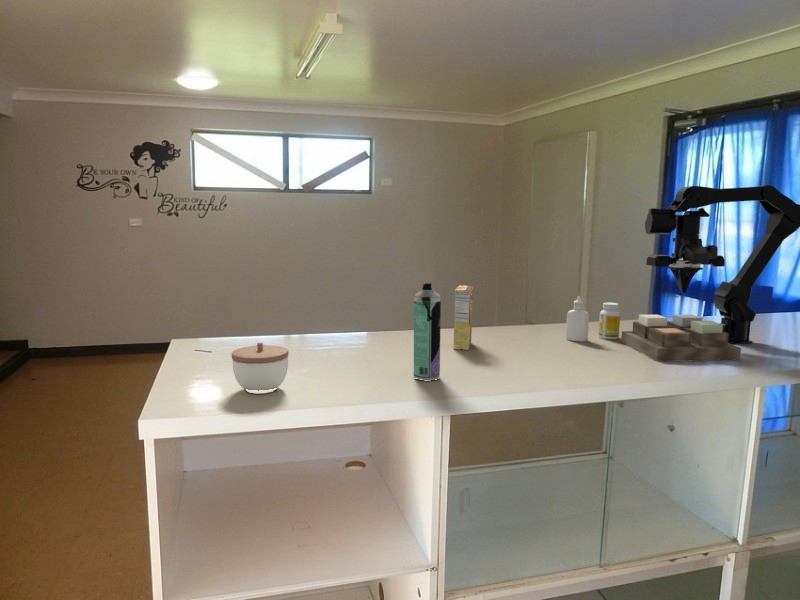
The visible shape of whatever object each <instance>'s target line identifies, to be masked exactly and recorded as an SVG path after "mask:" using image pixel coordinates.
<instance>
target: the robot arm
mask: <svg viewBox="0 0 800 600" xmlns="http://www.w3.org/2000/svg"><path fill="white" fill-rule="evenodd" d="M751 201H753V202H755V201H757V202H758V203H759V204H760V206H761V207H762V209H763V211H764V212H766V213H767V214H768V219H767V220H766V225H765V231H764V234H763V235H762V237H761V238H760V240H758V242H757V244H756V245H755V247H754V249H753V250H752V252H751V253H750V254H749V256H748V257H747V259H746V261H745V262H744V263H743V265H742V266H741V268H740V269H739V271H738V273H737V274H736V276H734V278H733V279H732V280H730V281H729V282H727V281H723V280H722V282H720V285H719V287H718V289H716V290H715V292H713V295H714V296H713V306H714V307H715V308H716V309H717V310H718V312H719V315H720V316H721V318H720V320H721V321H720V324H723V329H722V331H723V332H726V333H728V334H729V336H728V343H729V344H754V343H753V342H754V341H752V340H750V332H751V323H753V321H754V320H755V318H756V313H755V311H753V310H752V309H751V308H750V306H749V304H748V303H749V301H750V300H751V295H752V289H753V286H755V285H754V284H755V283H756V282H757V280H758V278H759V277H760V276H761V274H762V272H764V270H765V268H766V267H767V265H768V264H769V263H770V261H771V260H772V258H773V256H774V255H775V254H776V253H777V251H778V249H779V248H780V246H781V245H782V243H783V242H784V241H785V240H786V239H787V238H788V237H790V236H791V235H792V234H794V233H795V232H797V231H798V230H799V228H800V204H799V203H796V202H795V201H794V200H792V199H791V198H790V197H788V196H787V195H785V194H783V193H782V192H780V191H779V189H777V188H776V187H775V186H773V185H770V184H764V185H758V186H748V187H747V186H746V187H730V188H715V187H709V186H700V185H692V186H691V185H690V186H684V187H681V188H679V189H678V190H677V192H676V193H675V196H674V199H673V201H672V202H671V203H670V204H669V206H668V207H667V208H664V209H663V208H657V207H655V208H648V214H647V215H646V218H645V221H644V230H645V233H646V234H647V235H671V233H673V231H675V236H674V237H672V242H673V243H674V248H673V249H674V250H673V251H674V252H671V254H670V255H671V256H670V255H666V254H649V255H648V256H647V258H646V263H645V264H646V266H651V267H655V268H656V267H658V268H659V267H664V268H665V267H666V268H667V269H670V271H671V273H672V275H673V276H674V279H675V282H676V284H677V287H678V289H679V292H680V293H681V294H686V293H687V290H688V288H689V286H690V283H691V282H692V280H693V278H694V276H695V275H696V274H698V272H699V271H702V270H704V267H701V265H704V266H706V265H711V266H712V267H721V268H722V267H725V266H726V259H725V256H724V255H718V252H719V251H718V247H719V246H717V245H715V244H708V245H707V246H704V245H703V239H702V238H700V233H701V232H700V230H701V219H702V218H709V217H710V216H711V215H710V213H709V212H708V211H706V210H705V208H704V207H706V206H707V207H708V206H711V205H714V204H719V203H734V202H736V203H737V202H751ZM690 209H696V210H690ZM677 213H683V214H677Z"/></svg>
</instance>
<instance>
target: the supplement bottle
mask: <svg viewBox="0 0 800 600" xmlns="http://www.w3.org/2000/svg"><path fill="white" fill-rule="evenodd" d="M598 321H599V324H598V338H601V339H604V340H617V339H619V337H620V325H621V312H620V311H619V303H618V302H610V301H609V302H608V301H607V302H603V303H602V310H601V311H599V320H598Z"/></svg>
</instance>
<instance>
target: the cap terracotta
mask: <svg viewBox="0 0 800 600" xmlns="http://www.w3.org/2000/svg"><path fill="white" fill-rule="evenodd" d="M655 330H657V331H659V332H661V333H664V334H671V333H685V332H683V331H680V330H678V329H675V328H655Z"/></svg>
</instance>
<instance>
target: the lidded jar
mask: <svg viewBox="0 0 800 600" xmlns="http://www.w3.org/2000/svg"><path fill="white" fill-rule="evenodd" d="M231 360H232V370H233V371H232V372H233V374H234V377H235V380H236V382H237V384H238V385H239V386H240V387H241V388H242V389H243V388H244V390H245V389H248V390H258V391H259V390H269V389H274V388H277V387H278V388H279V387H280V386H281V385H282V384H283V383H284V381H285V379H286V377H287V374H288V369H289V368H288V367H289V350H288V348H286V347H284V346H281V345H271V344H269V345H268V344H263V342H260V341H259V342H257V343H256V345H250V346H243V347H239V348H237V349H235V350H233V351H232V352H231ZM278 388H277V389H278Z"/></svg>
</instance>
